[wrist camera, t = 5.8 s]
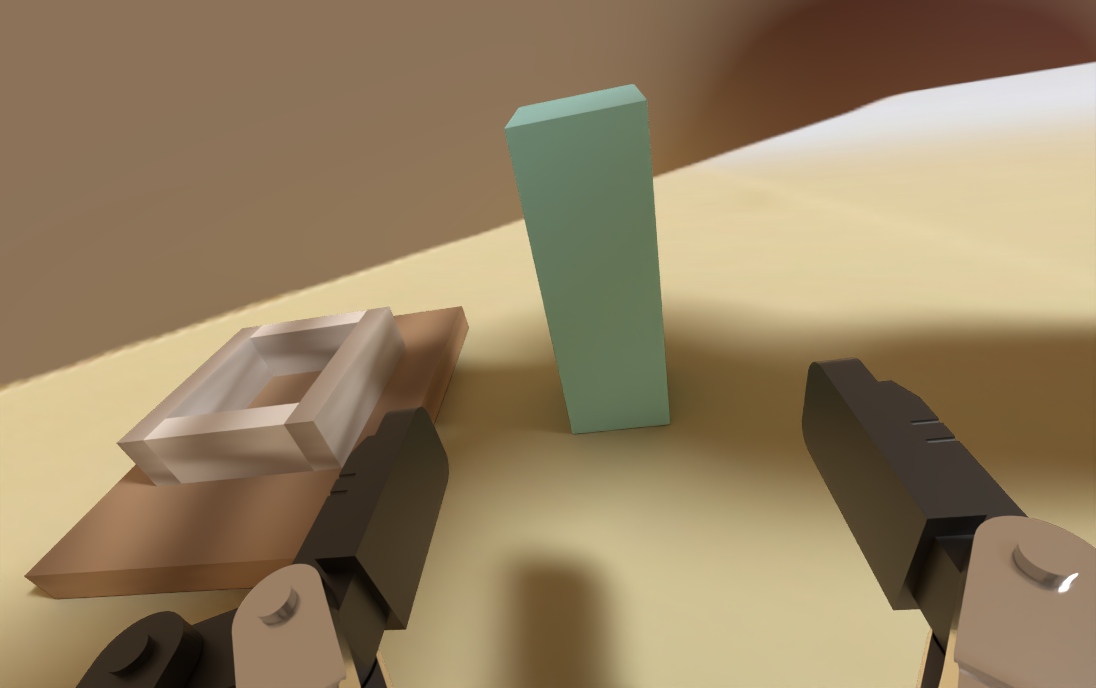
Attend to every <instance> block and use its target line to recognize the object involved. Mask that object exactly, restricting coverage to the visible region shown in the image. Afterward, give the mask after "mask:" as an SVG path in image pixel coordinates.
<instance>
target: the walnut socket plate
mask: <svg viewBox="0 0 1096 688" xmlns="http://www.w3.org/2000/svg"><path fill="white" fill-rule="evenodd" d="M468 329H469V326H468V323H467V320H466V317H465V314H464V311H463V308H462V306H460V307H453V308H447V309H440V310H433V311H426V312H419V313H412V314H405V315H398V316H393V314H392V312H391V310H390V307H384V308H377V309H371V310H364V311H357V312H350V313H344V314H337V315H330V316H323V317H317V318H310V319H303V320H296V321H290V322H283V323H276V324H269V325H263V326H256V327H249V328H242V329H241V330H240V331H239V332H238V333H237V334H236V335H234V336H233V337H232V338H231V339H230V340H229V341H228V342H227V343H226V344H225V345H224V346H222V347H221V348H220V349H219V350H218V351H217V352H216V353H215V354H214V355H213V356H211V357H210V358H209V359H208V360H207V361H206V362H205V363H204V364H203V365H202V366H201V367H199V368H198V369H197V370H196V371H195V372H194V373H193V374H192V375H191V376H190V377H188V378H187V379H186V380H185V381H184V382H183V383H182V384H181V385H180V386H179V387H178V388H176V389H175V390H174V391H173V392H172V393H171V394H170V395H169V396H168V397H167V398H165V399H164V400H163V401H162V402H161V403H160V404H159V405H158V406H157V407H156V408H155V409H153V410H152V411H151V412H150V413H149V414H148V415H147V416H146V417H145V418H144V419H142V420H141V421H140V422H139V423H138V424H137V425H136V426H135V427H134V428H133V429H132V430H130V431H129V432H128V433H127V434H126V435H125V436H124V437H123V438H122V439H121V440H119V441H118V442H117V444H118V445H119V446H120V447H121V449H122V450H123V451H124V452H125V453H126V454H127V455H128V456H129V457H130V458H131V459H132V460H133V461H134V462H135V463H136V465H135V466H134V467H133V468H132V469H131V470H130V471H129V472H128V473H127V474H126V475H125V476H124V477H123V478H122V479H121V480H120V481H119V482H118V483H117V484H116V485H115V486H114V487H113V488H112V489H111V490H110V491H109V492H108V493H107V494H106V495H105V496H104V497H103V498H102V499H101V500H100V501H99V502H98V503H97V504H96V505H95V506H94V507H93V508H92V509H91V510H90V511H89V512H88V513H87V514H86V515H85V516H84V517H83V518H82V519H81V520H80V521H79V522H78V523H77V524H76V525H75V526H74V527H73V528H72V529H71V530H70V531H69V532H68V533H67V534H66V535H65V536H64V537H63V538H62V539H61V540H60V541H59V542H58V543H57V544H56V545H55V546H54V547H53V548H52V549H51V550H50V551H49V552H48V553H47V554H46V555H45V556H44V557H43V558H42V559H41V560H40V561H39V562H38V563H37V564H36V565H35V566H34V567H33V568H32V569H31V570H30V571H29V572H28V573H27V574H26V575H25V576H24V577H26V578H27V579H29V580H30V581H31V582H33V583H34V584H35V585H37V586H38V587H39V588H41V589H42V590H44V591H45V592H46V593H48V594H49V595H50V596H52V597H53V598H54V599H63V598H80V597H98V596H115V595H132V594H150V593H167V592H184V591H201V590H219V589H236V588H253V587H255V586H256V585H257V584H258V583H259V582H261V581H262V580H263V579H264V578H266V577H267V576H269V575H270V574H272V573H273V572H275V571H277V570H279V569H281V568H284V567H286V566H290V565H291V564H292V563H293V561H294V559H295V557H296V555H297V554H298V552H299V550H300V548H301V546H302V544H303V542H304V540H305V538H306V536H307V534H308V533H309V531H310V529H311V527H312V525H313V523H314V521H315V519H316V517H317V515H318V514H319V512H320V510H321V508H322V506H323V504H324V502H325V500H326V498H327V496H330V491H331V489H332V487H333V485H334V483H335V481H336V479H339V474H340V472H341V470H342V468H343V466H344V464H345V462H346V460H347V458H348V456H349V455H350V454H351V453H352V451H353V450H354V449H355V448H356V447H357V446H358V445H359V444H360V443H361V442H362V441H363V440H364V439H365V438H366V437H367V436H372V435H375V434H376V432H377V430H378V428H379V425H380V423H381V421H382V419H383V417H384V415H385V414H386V413H387V412H388V411H390V410H397V409H406V408H414V407H424V408H425V409H426V410H427V412H428V414H429V416H430V418H431V421H432V423H433V425H434V423H435V420H436V417H437V415H438V412H439V409H440V406H441V404H442V401H443V398H444V395H445V392H446V390H447V387H448V384H449V381H450V379H451V376H452V373H453V370H454V368H455V365H456V362H457V359H458V356H459V354H460V351H461V348H462V345H463V343H464V340H465V337H466V334H467V332H468Z"/></svg>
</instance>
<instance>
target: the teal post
mask: <svg viewBox="0 0 1096 688" xmlns="http://www.w3.org/2000/svg"><path fill="white" fill-rule="evenodd" d="M504 129H505V133H506V138H507V143H508V147H509V151H510V156H511V160H512V165H513V169H514V174H515V178H516V183H517V187H518V192H519V196H520V201H521V205H522V210H523V214H524V219H525V223H526V228H527V232H528V237H529V241H530V246H531V250H532V255H533V259H534V264H535V268H536V273H537V277H538V281H539V286H540V290H541V295H542V299H543V304H544V308H545V313H546V317H547V322H548V326H549V331H550V335H551V340H552V344H553V349H554V353H555V358H556V362H557V367H558V371H559V376H560V380H561V385H562V389H563V393H564V398H565V402H566V407H567V411H568V416H569V420H570V425H571V429H572V434H578V433H588V432H598V431H608V430H618V429H628V428H638V427H648V426H658V425H668V424H670V413H669V399H668V385H667V371H666V358H665V344H664V330H663V316H662V302H661V288H660V274H659V260H658V246H657V232H656V218H655V205H654V191H653V177H652V163H651V149H650V135H649V121H648V107H647V99H646V98H645V97H644V96H643V95H642V93H641V92H640V91H639V90H638V89H637V88H636V86H635V85H634V84H631V85H626V86H621V87H616V88H612V89H606V90H602V91H596V92H592V93H587V94H582V95H577V96H573V97H567V98H563V99H558V100H553V101H548V102H543V103H538V104H533V105H529V106H524V107H519V108H518V110H517V111H516V113H515V114H514V115H513V117H512V118H511V120H510V121H509V123H508V124H507V126H506V127H505V128H504Z"/></svg>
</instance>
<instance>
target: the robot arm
mask: <svg viewBox="0 0 1096 688" xmlns="http://www.w3.org/2000/svg"><path fill="white" fill-rule="evenodd" d="M802 430H803V436H804V440H805V443H806V446H807V449H808V451H809V453H810V455H811V457H812V459H813V460H814V462H815V464H816V466H817V468H818V470H819V472H820V474H821V475H822V477H823V479H824V481H825V483H826V485H827V487H828V489H829V490H830V492H831V494H832V496H833V498H834V500H835V502H836V504H837V505H838V507H839V509H840V511H841V513H842V515H843V517H844V519H845V520H846V522H847V524H848V526H849V528H850V530H851V532H852V534H853V536H854V537H855V539H856V541H857V543H858V545H859V547H860V549H861V551H862V552H863V554H864V556H865V558H866V560H867V562H868V564H869V566H870V567H871V569H872V571H873V573H874V575H875V577H876V579H877V581H878V582H879V584H880V586H881V588H882V590H883V592H884V594H885V596H886V597H887V599H888V601H889V603H890V605H891V607H892V609H893V610H909V609H920V610H921V611H922V613H923V615H924V617H925V618H926V620H927V622H928V624H929V625H930V627H931V628H930V630H929V632H928V635H927V639H926V644H925V648H924V653H923V657H922V662H921V667H920V671H919V676H918V680H917V685H916V688H1096V548H1094V547H1093V546H1092V545H1090V544H1089V543H1087V542H1086V541H1085V540H1083V539H1081V538H1080V537H1078V536H1076V535H1074V534H1073V533H1071V532H1069V531H1067V530H1065V529H1062V528H1060V527H1058V526H1055V525H1053V524H1050V523H1048V522H1044V521H1041V520H1037V519H1033V518H1029V517H1028V516H1027V515H1026V514H1025V513H1024V512H1023V511H1022V510H1021V509H1020V508H1019V507H1018V506H1017V505H1016V504H1015V503H1014V501H1013V500H1012V499H1011V498H1010V497H1009V496H1008V495H1007V494H1006V493H1005V491H1004V490H1003V489H1002V488H1001V487H1000V486H999V485H998V484H997V483H996V481H995V480H994V479H993V478H992V477H991V476H990V475H989V474H988V473H987V472H986V470H985V469H984V468H983V467H982V466H981V465H980V464H979V463H978V462H977V460H976V459H975V458H974V457H973V456H972V455H971V454H970V453H969V452H968V450H967V449H966V448H965V447H964V446H963V445H962V444H961V443H960V442H959V441H956V440H955V436H954V435H953V434H952V433H951V432H950V430H949V429H948V428H947V427H946V426H945V425H944V424H943V423H940V422H939V418H938V417H937V416H936V415H935V414H934V413H933V412H932V411H931V409H930V408H929V407H928V406H927V405H926V404H925V403H924V402H923V401H922V399H921V398H920V397H918V396H917V395H915V394H913V393H911V392H910V391H908V390H906V389H905V388H903V387H901V386H900V385H898V384H896V383H895V382H893V381H882V382H877V380H876V379H875V378H874V377H873V375H872V374H871V373H870V372H869V371H868V369H867V368H866V367H865V366H864V365H863V363H862V362H861V361H860V360H858V359H857V358H846V359H838V360H829V361H820V362H813V363H812V364H811V365H810V367H809V370H808V377H807V385H806V393H805V401H804V408H803V416H802ZM448 474H449V468H448V460H447V456H446V453H445V451H444V448H443V446H442V444H441V441H440V439H439V437H438V435H437V432H436V430H435V428H434V425H433V423H432V421H431V418H430V416H429V414H428V412H427V410H426V409H425V408H424V407H414V408H406V409H397V410H390V411H388V412H387V413H386V414H385V415H384V417H383V419H382V421H381V423H380V425H379V428H378V430H377V432H376V434H375V435H372V436H367V437H366V438H365V439H364V440H363V441H362V442H361V443H360V444H359V445H358V446H357V447H356V448H355V449H354V450H353V451H352V453H351V454H350V455H349V456H348V458H347V460H346V462H345V464H344V466H343V468H342V470H341V472H340V474H339V479H336V481H335V483H334V485H333V487H332V489H331V491H330V496H327V498H326V500H325V502H324V504H323V506H322V508H321V510H320V512H319V514H318V515H317V517H316V519H315V521H314V523H313V525H312V527H311V529H310V531H309V533H308V534H307V536H306V538H305V540H304V542H303V544H302V546H301V548H300V550H299V552H298V554H297V555H296V557H295V559H294V561H293V563H292V564H291V565H290V566H286V567H284V568H281V569H279V570H277V571H275V572H273V573H272V574H270V575H269V576H267V577H266V578H264V579H263V580H262V581H261V582H259V583H258V584H257V585H256V586H255V587H254V588H253V589H252V590H251V591H250V592H249V594H248V595H247V596H246V597H245V599H244V600H243V601H242V603H241V604H240V606H239V608H237V609H234V610H231V611H229V612H226V613H223V614H221V615H218V616H215V617H213V618H210V619H207V620H205V621H202V622H199V623H197V624H194V625H192V626H191V625H190V624H189V623H188V622H186V621H185V620H184V619H183V618H182V617H181V616H180V615H178V614H176V613H175V612H170V611H165V612H159V613H155V614H152V615H149V616H147V617H145V618H143V619H141V620H139V621H138V622H136V623H134V624H133V625H131V626H130V627H128V628H127V629H125V630H124V631H123V632H122V633H120V634H119V635H118V636H117V637H116V638H115V639H114V640H113V641H111V642H110V643H109V644H108V645H107V647H106V648H105V649H104V650H103V651H102V652H101V653H100V655H99V656H98V657H97V658H96V660H95V661H94V662H93V664H92V665H91V667H90V668H89V669H88V671H87V672H86V674H85V675H84V677H83V678H82V679H81V681H80V682H79V684H78V685H77V686H76V688H393V685H392V682H391V679H390V677H389V674H388V671H387V668H386V665H385V662H384V659H383V656H382V654H381V652H380V650H379V649H378V648H379V645H380V641H381V638H382V635H383V632H384V630H402V629H406V627H407V624H408V620H409V617H410V613H411V610H412V606H413V602H414V599H415V595H416V592H417V588H418V585H419V581H420V578H421V574H422V571H423V567H424V564H425V560H426V556H427V553H428V549H429V546H430V542H431V539H432V535H433V532H434V528H435V525H436V521H437V518H438V514H439V510H440V507H441V503H442V500H443V496H444V493H445V489H446V486H447V482H448Z"/></svg>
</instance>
